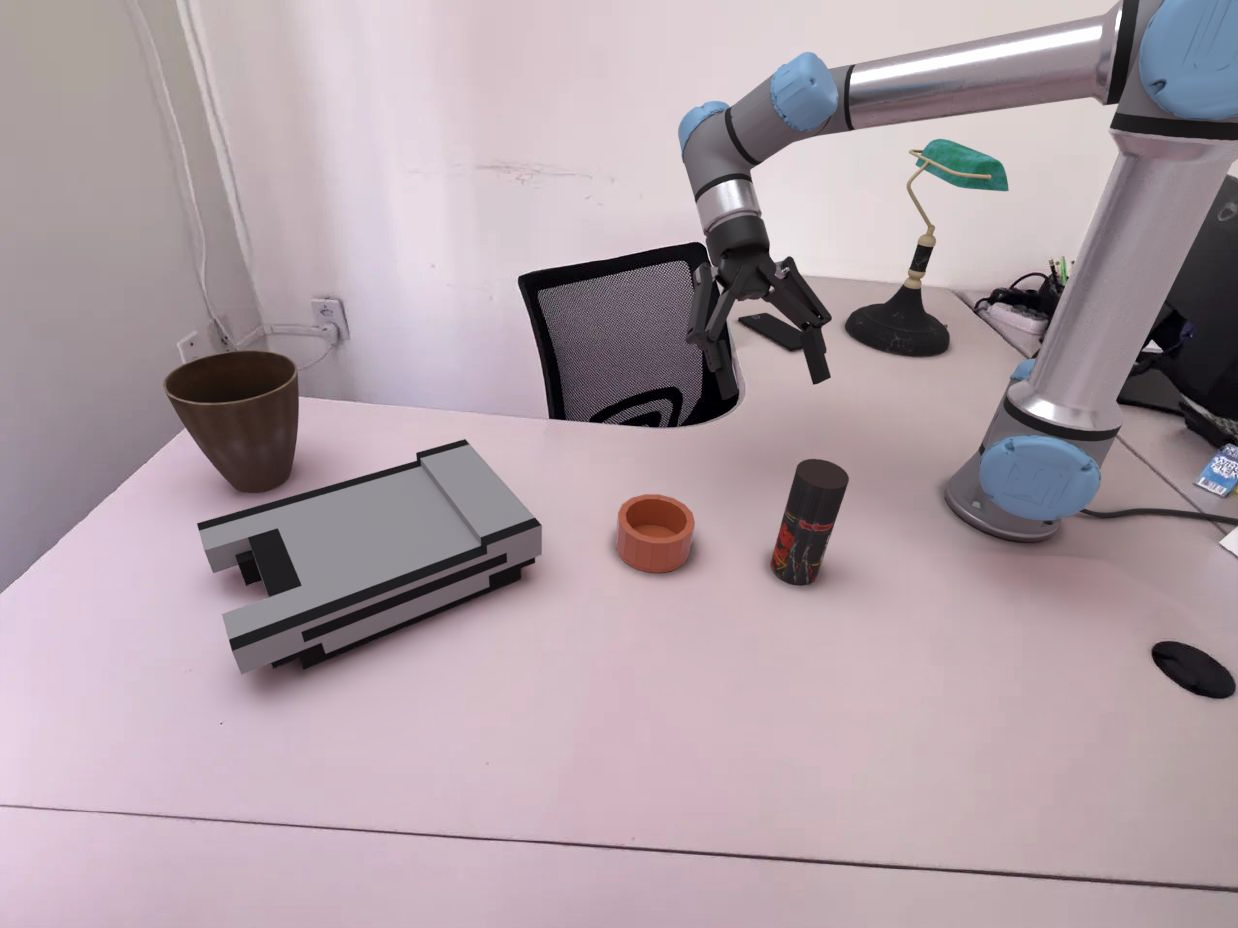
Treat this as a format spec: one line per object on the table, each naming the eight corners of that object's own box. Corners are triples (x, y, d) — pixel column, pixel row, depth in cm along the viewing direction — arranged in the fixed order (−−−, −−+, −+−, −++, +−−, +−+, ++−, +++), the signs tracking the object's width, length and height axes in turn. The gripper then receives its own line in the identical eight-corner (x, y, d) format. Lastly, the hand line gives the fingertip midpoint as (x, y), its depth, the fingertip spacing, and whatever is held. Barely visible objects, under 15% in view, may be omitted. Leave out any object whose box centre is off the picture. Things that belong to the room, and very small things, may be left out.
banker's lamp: (968, 364, 140) (1051, 163, 117) (863, 357, 140) (926, 153, 117) (923, 317, 162) (985, 140, 139) (831, 310, 161) (879, 131, 139)
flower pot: (249, 440, 98) (220, 342, 89) (340, 457, 96) (320, 359, 87) (174, 498, 86) (132, 392, 77) (277, 519, 84) (245, 412, 75)
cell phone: (765, 315, 155) (766, 312, 154) (820, 345, 143) (821, 341, 142) (736, 321, 151) (737, 317, 150) (790, 352, 139) (791, 348, 138)
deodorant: (818, 589, 81) (851, 492, 72) (770, 580, 81) (797, 483, 73) (816, 557, 85) (846, 463, 77) (770, 549, 86) (795, 455, 78)
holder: (696, 533, 88) (701, 504, 85) (679, 581, 80) (684, 551, 77) (628, 516, 90) (631, 487, 87) (605, 560, 82) (608, 530, 79)
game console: (214, 569, 76) (193, 514, 72) (468, 487, 93) (465, 439, 88) (251, 698, 63) (228, 642, 58) (541, 576, 79) (541, 524, 74)
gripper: (796, 238, 90) (837, 384, 88) (633, 248, 81) (675, 411, 78) (830, 208, 83) (877, 365, 81) (657, 215, 74) (703, 393, 72)
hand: (777, 388), depth 80 cm, fingers open, 13 cm apart
